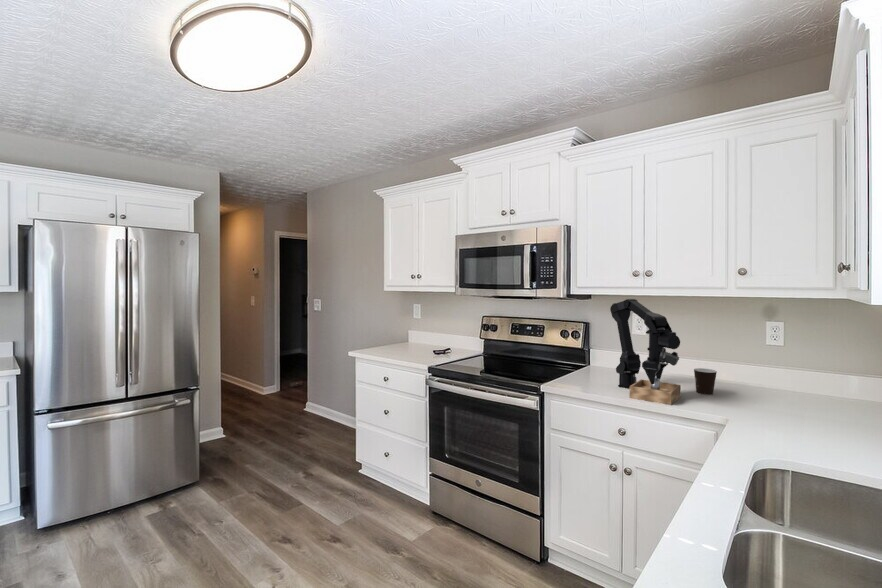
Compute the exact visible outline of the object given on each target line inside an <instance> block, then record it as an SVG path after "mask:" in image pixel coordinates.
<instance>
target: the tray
mask: <svg viewBox="0 0 882 588" xmlns="http://www.w3.org/2000/svg"><path fill="white" fill-rule="evenodd" d="M681 392H682V391H681V384H676V383H668V382H662V381H660V390H654V389H651V383H650V380H649V379H648V380H647V379H639V380H637V381H636V383H634V384H633V385H631V386H630V388H629V393H628V394H629V396H628V397H629V399H632V400H640V401H646V402H650V403H658V404H662V405H668V406H672V405H673V404H674V403H675V402H676V401H677V400H678V399H680V398H681Z"/></svg>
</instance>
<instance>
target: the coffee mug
mask: <svg viewBox="0 0 882 588" xmlns="http://www.w3.org/2000/svg"><path fill="white" fill-rule="evenodd" d="M693 372H694V373H693V375H694V382H695V392H696V393H697V394H699V395H703V396H704V395H707V396H712V395H714V389H715V384H716V377H717V373H718V372H717V370H715V369H711V368H710V369H709V368H701V367H700V368H699V367H698V368H694V369H693Z"/></svg>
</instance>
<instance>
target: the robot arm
mask: <svg viewBox="0 0 882 588" xmlns="http://www.w3.org/2000/svg"><path fill="white" fill-rule="evenodd" d="M609 309H610V312H611V313H610V314H611V317H612V319H613V320H614V321H615V322H616V324H617V331H618V337H619V342H620V347H621V348H620V349H621V354H620V356H619V363H618V365H617V366H616V367H615V371H616V374H618V375H619V376H618V377H619V379H618V380H619V381H618V384H617V386H618V387H619V388H627V389H630V386H631V385H633V384H634V383H636V382H637V376H636V375H638V374H639V372H640V369H641V368H643V370H644V372H645V374H646V376H647V378H648V380H649V381H650V383H651V384H654V382H655V378H659V379H660V380H661V379H662V376H663V375H662V374H663V372H664V369H665V367H667V366H668V365H669V364H670V365H672V366H676V365H677V363H678V362H679V360H680V356H679V354H678V352H676V351H673V352H668V351H667V349H670V350H676V349H678V348H679V347H680V345H681V340H680V338H679V336H678V335H677V332H676V331H673V329H672V327H671V326H670V323H669V322H668V320H667V317H666V316H665V315H662V314H660V313H655V312H653V311H652V310H650V309H649V308H648V307H645V305H643V304H642V303H641V302H639V300H637V299H635V298H627V299H625V300H621V301H619V302H615V303H612V305H611V306H610V307H609ZM631 312H633V313H634V314H635V315H637V316H638V317H639V318H640V319H641V320H643V322H644V323H643V324H644V325H645V326H646V327H647V329H648V330H646V331H645V334H647V335H648V347H647V349H646V350H647V351H648V357H646V359H645V360H644V361H643V362H641V357H640V354H639V353H636V352H635V350H634V346H633V340H632V336H631V330H630V325H629V319H630V318H631Z"/></svg>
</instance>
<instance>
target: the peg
mask: <svg viewBox="0 0 882 588" xmlns="http://www.w3.org/2000/svg"><path fill="white" fill-rule="evenodd" d="M660 382H661V379H659V378H656V377H655V382H654V384H651V389H654V390H660Z"/></svg>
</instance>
